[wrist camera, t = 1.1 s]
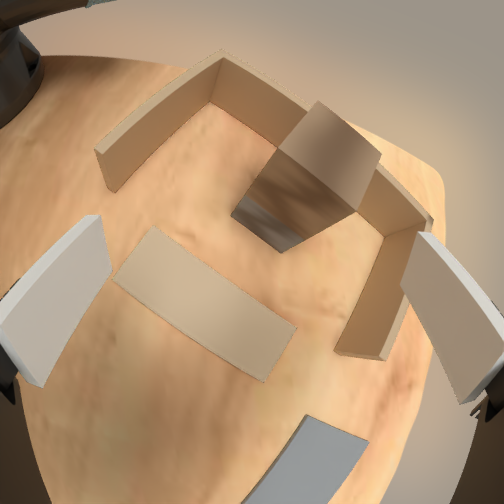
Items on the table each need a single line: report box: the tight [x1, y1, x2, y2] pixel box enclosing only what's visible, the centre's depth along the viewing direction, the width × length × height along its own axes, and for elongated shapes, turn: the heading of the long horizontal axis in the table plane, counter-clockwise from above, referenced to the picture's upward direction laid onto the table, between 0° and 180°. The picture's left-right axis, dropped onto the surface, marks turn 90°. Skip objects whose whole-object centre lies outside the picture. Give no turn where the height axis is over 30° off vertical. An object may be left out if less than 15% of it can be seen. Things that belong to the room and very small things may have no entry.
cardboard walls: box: [94, 49, 434, 383], centre depth 24 cm, size 28×22×7 cm
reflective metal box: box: [231, 101, 382, 253], centre depth 23 cm, size 6×6×12 cm
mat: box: [241, 415, 369, 504], centre depth 23 cm, size 10×14×1 cm
